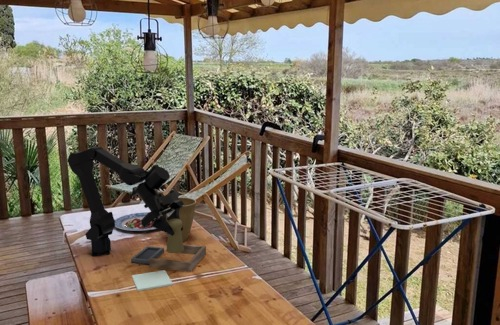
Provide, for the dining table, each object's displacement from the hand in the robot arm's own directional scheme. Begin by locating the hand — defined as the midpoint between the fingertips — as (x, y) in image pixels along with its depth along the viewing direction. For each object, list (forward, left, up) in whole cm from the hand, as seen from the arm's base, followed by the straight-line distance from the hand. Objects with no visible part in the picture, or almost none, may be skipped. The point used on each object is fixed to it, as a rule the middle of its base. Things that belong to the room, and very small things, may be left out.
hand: (178, 232), depth 152 cm
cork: (-1, +1, -7) cm, 7 cm away
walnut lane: (+2, +7, -13) cm, 15 cm away
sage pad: (-11, -6, -13) cm, 18 cm away
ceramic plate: (-3, +53, -14) cm, 55 cm away
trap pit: (-8, +14, -13) cm, 21 cm away
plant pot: (+7, +29, -13) cm, 33 cm away
